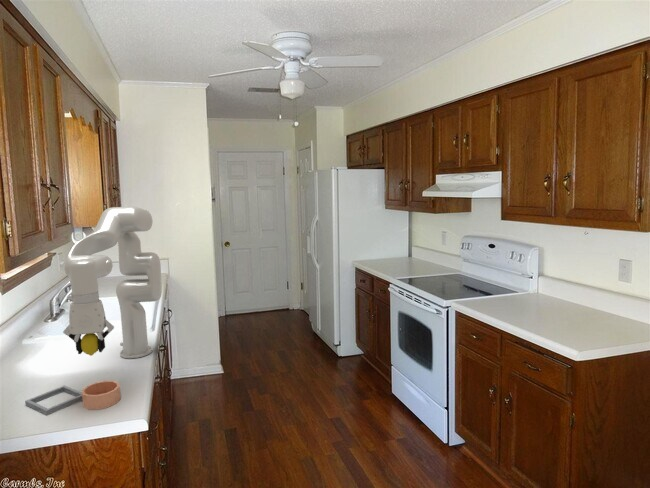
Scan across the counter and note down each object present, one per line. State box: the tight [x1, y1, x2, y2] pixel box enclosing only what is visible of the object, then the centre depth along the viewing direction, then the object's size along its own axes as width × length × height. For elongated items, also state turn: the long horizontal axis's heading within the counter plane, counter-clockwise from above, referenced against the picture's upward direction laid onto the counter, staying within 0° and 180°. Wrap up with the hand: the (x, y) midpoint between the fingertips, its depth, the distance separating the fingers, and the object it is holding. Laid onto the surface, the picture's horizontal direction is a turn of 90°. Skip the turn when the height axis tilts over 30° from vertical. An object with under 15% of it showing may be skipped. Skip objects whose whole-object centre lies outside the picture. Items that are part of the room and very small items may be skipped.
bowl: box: [81, 380, 122, 410], centre depth 157 cm, size 11×11×4 cm
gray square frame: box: [24, 385, 83, 416], centre depth 157 cm, size 13×13×2 cm
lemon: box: [81, 333, 99, 357], centre depth 154 cm, size 6×6×8 cm
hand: (91, 351), depth 154 cm, fingers closed on lemon, 5 cm apart
